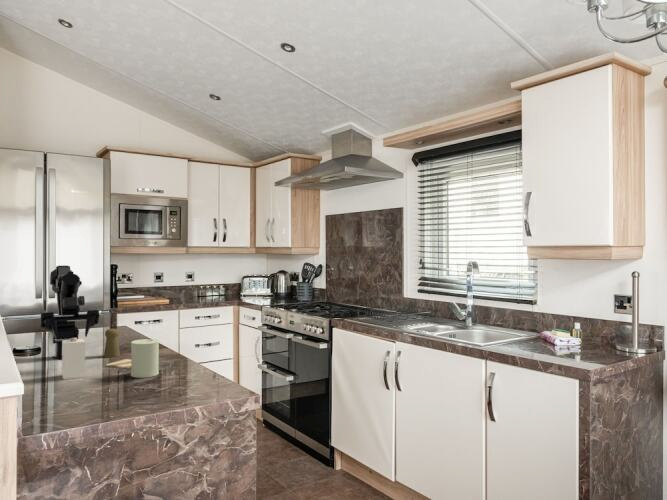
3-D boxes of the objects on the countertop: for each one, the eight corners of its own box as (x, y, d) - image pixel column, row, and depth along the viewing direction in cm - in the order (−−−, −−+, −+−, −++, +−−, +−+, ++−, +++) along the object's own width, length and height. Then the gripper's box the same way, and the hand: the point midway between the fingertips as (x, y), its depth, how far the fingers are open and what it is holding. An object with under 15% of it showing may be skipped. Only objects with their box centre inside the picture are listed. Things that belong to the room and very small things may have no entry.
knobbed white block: (61, 375, 175) (62, 337, 175) (82, 372, 178) (83, 335, 178) (63, 379, 170) (63, 340, 169) (84, 377, 173) (85, 338, 173)
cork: (114, 358, 202) (114, 330, 202) (100, 357, 204) (100, 329, 204) (123, 354, 208) (123, 328, 208) (110, 354, 209) (110, 327, 209)
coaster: (105, 365, 189) (105, 364, 189) (125, 360, 198) (125, 358, 198) (127, 368, 186) (127, 366, 186) (146, 362, 195) (146, 361, 195)
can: (164, 372, 180) (164, 338, 180) (146, 378, 172) (147, 343, 172) (143, 370, 183) (143, 336, 183) (124, 376, 175) (125, 341, 175)
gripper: (41, 289, 179) (42, 325, 170) (99, 287, 189) (103, 321, 180) (39, 309, 186) (40, 344, 176) (96, 306, 196) (99, 340, 186)
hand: (71, 337), depth 179 cm, fingers open, 9 cm apart
